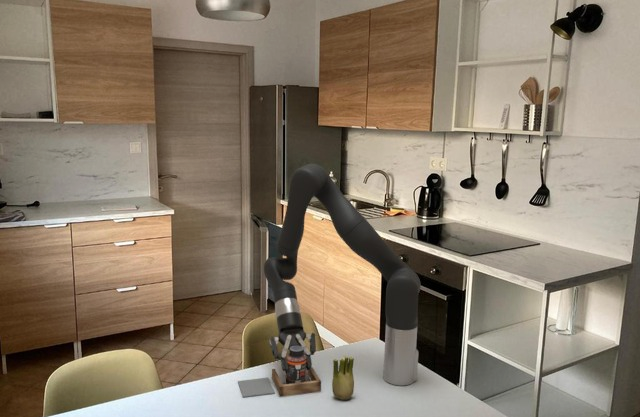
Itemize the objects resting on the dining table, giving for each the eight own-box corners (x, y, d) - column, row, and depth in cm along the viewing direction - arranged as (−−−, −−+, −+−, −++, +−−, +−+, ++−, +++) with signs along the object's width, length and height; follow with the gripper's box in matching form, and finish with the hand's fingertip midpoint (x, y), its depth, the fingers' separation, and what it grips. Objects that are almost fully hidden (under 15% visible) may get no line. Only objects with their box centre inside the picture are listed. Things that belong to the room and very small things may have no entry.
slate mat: (268, 378, 158) (268, 377, 158) (274, 393, 150) (274, 392, 150) (238, 382, 156) (238, 381, 156) (242, 397, 147) (242, 396, 147)
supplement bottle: (303, 391, 152) (304, 353, 150) (283, 388, 153) (283, 351, 151) (307, 380, 158) (308, 345, 156) (288, 378, 159) (289, 342, 157)
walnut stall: (310, 373, 162) (310, 364, 162) (320, 391, 152) (321, 381, 152) (271, 378, 159) (271, 368, 158) (279, 396, 148) (280, 386, 148)
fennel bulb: (330, 400, 148) (332, 359, 146) (334, 391, 152) (335, 352, 150) (351, 403, 146) (353, 362, 144) (354, 394, 151) (356, 354, 149)
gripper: (267, 313, 157) (275, 369, 148) (313, 309, 161) (324, 363, 152) (263, 323, 163) (271, 377, 154) (308, 319, 167) (318, 372, 158)
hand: (297, 370), depth 153 cm, fingers closed on supplement bottle, 6 cm apart
